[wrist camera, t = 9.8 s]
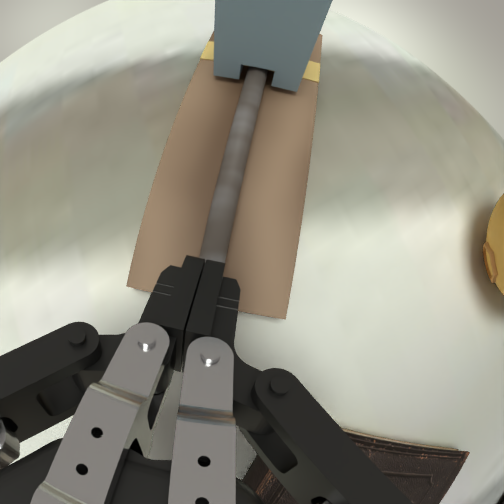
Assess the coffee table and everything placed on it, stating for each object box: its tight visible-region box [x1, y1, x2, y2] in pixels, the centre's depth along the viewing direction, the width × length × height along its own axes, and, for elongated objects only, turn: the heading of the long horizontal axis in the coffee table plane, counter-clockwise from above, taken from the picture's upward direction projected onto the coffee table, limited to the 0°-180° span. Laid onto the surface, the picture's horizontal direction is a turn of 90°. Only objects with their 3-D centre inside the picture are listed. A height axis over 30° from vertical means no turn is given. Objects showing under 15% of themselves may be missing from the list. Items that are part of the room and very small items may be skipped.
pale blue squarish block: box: [213, 0, 332, 92], centre depth 13 cm, size 5×4×7 cm
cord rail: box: [127, 32, 322, 319], centre depth 15 cm, size 8×21×5 cm, turn 169°
